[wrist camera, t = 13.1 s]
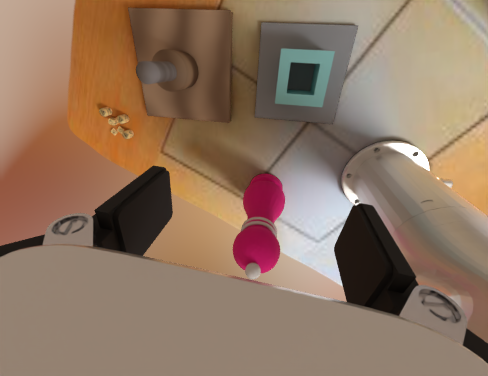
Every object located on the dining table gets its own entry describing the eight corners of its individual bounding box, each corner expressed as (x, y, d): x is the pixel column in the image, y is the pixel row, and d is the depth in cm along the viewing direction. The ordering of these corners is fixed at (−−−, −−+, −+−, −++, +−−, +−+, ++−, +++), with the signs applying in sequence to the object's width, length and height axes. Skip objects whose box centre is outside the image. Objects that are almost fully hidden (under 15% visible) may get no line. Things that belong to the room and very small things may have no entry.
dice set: (106, 105, 38) (98, 107, 37) (132, 110, 38) (126, 112, 36) (111, 132, 41) (104, 135, 39) (136, 137, 41) (130, 140, 39)
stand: (232, 12, 28) (205, -14, 18) (230, 120, 35) (210, 142, 26) (134, 10, 30) (63, -16, 20) (152, 113, 37) (105, 131, 27)
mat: (356, 26, 27) (358, 25, 26) (332, 123, 33) (332, 123, 32) (261, 23, 28) (261, 22, 28) (255, 116, 34) (254, 117, 34)
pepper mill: (245, 171, 40) (215, 252, 23) (284, 170, 38) (284, 255, 21) (249, 203, 43) (225, 294, 26) (285, 203, 42) (285, 300, 25)
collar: (327, 52, 28) (335, 51, 24) (317, 101, 31) (322, 107, 27) (281, 50, 29) (281, 48, 25) (276, 98, 32) (274, 103, 28)
